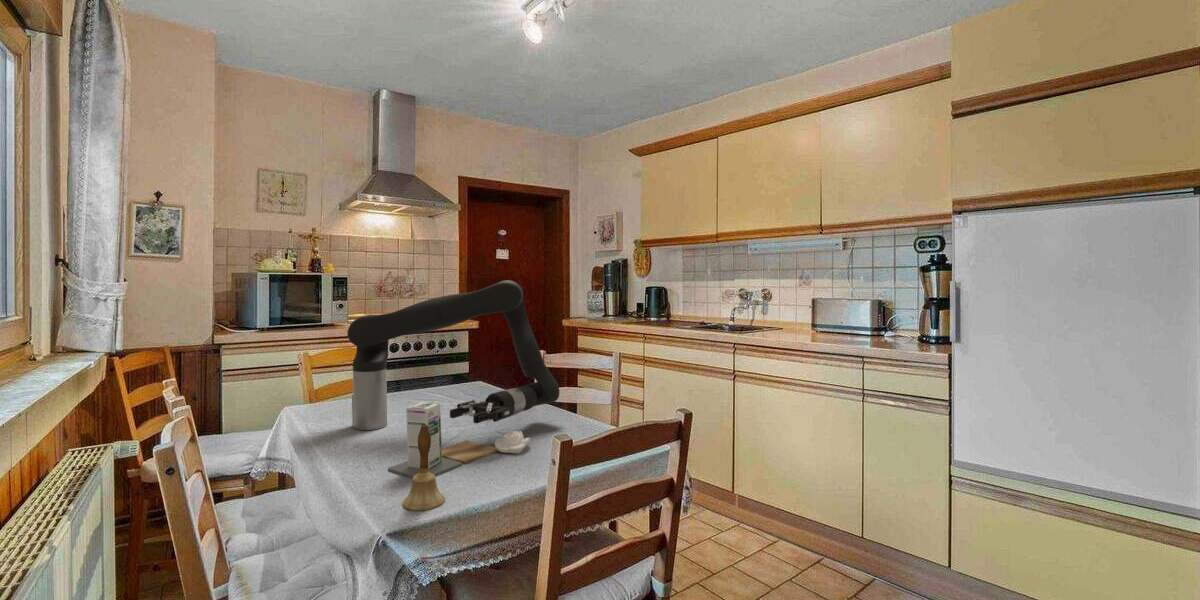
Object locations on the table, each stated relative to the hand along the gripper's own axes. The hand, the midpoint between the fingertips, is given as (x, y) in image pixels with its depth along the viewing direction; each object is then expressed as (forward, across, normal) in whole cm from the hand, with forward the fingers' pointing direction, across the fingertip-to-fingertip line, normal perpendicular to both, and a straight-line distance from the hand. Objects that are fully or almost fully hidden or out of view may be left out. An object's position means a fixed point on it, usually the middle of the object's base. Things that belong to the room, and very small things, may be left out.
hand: (462, 416), depth 141 cm
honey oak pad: (-1, 0, +10) cm, 10 cm away
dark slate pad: (+12, 0, +10) cm, 15 cm away
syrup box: (+12, -1, +9) cm, 15 cm away
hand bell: (+25, +15, +10) cm, 31 cm away
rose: (-10, +8, +10) cm, 16 cm away
